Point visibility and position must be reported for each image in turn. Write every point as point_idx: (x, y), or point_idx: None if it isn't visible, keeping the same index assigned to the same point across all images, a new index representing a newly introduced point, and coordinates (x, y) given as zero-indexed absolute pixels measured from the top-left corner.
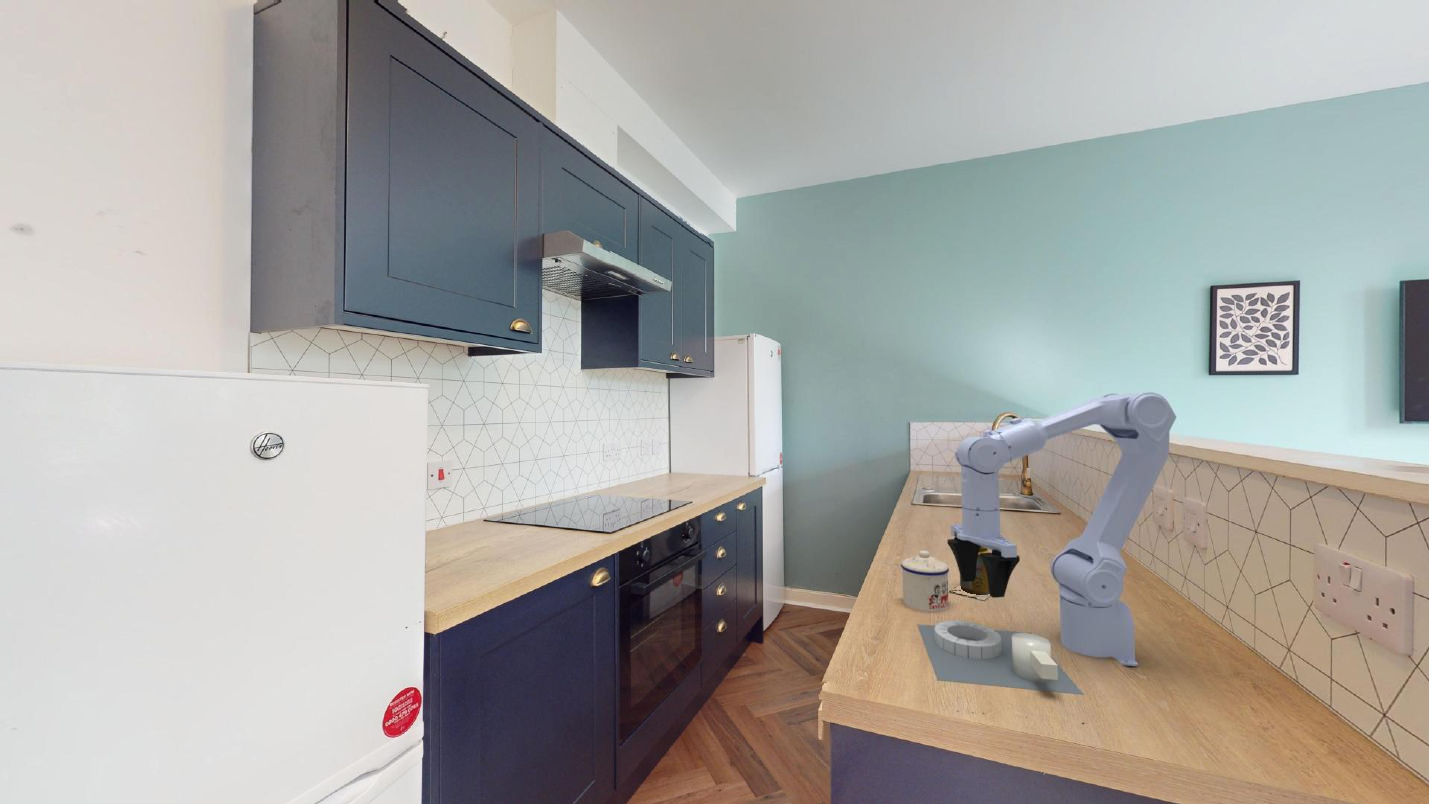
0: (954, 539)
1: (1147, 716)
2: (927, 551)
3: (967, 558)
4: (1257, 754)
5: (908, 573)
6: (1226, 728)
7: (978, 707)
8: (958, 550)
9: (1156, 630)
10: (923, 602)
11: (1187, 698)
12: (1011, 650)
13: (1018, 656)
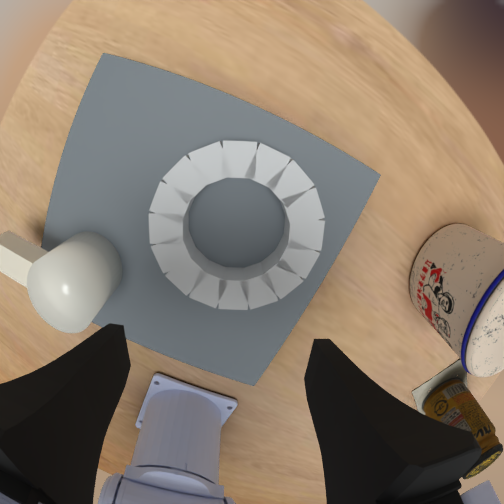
0: (451, 481)
1: (23, 329)
2: None
3: (338, 439)
4: None
5: None
6: (20, 373)
7: (42, 100)
8: (375, 447)
9: (233, 488)
10: (443, 252)
11: None
12: (186, 301)
13: (61, 245)
